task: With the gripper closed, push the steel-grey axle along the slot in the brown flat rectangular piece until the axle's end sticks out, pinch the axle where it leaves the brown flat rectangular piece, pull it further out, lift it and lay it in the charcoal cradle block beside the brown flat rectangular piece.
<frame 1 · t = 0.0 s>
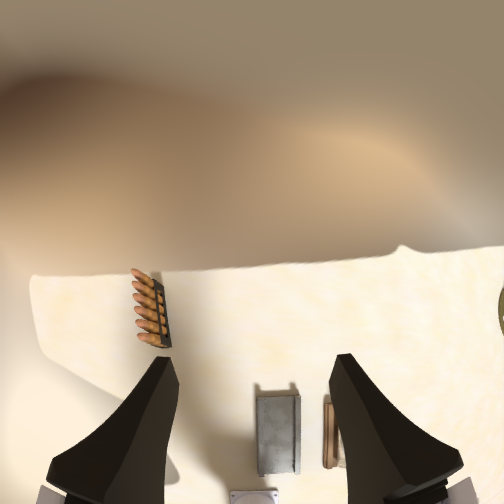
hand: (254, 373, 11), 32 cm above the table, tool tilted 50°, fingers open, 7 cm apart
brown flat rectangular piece: (344, 433, 36), on the table
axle: (346, 434, 35), point 1 cm above the table, touching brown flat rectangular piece
cradle: (278, 435, 36), on the table
ammunition clip: (162, 316, 44), on the table
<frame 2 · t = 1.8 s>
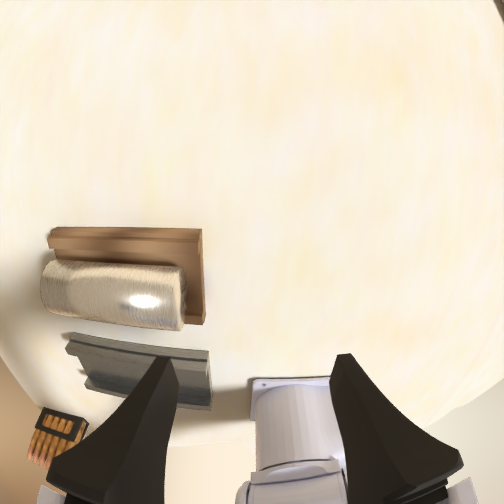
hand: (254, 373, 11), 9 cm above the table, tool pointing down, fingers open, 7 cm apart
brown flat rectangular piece: (126, 271, 19), on the table
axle: (121, 277, 18), point 1 cm above the table, touching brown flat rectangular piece
cradle: (141, 367, 24), on the table
ammunition clip: (65, 414, 32), on the table
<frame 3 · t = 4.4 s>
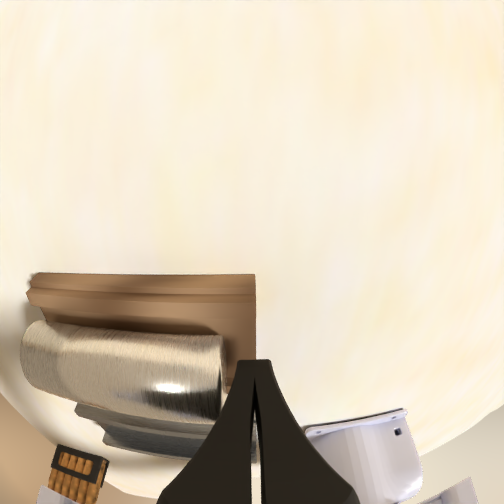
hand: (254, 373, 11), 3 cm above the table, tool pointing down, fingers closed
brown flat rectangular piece: (142, 330, 13), on the table
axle: (129, 342, 13), point 1 cm above the table, touching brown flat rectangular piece, gripper
cradle: (169, 424, 18), on the table
ammunition clip: (82, 451, 27), on the table
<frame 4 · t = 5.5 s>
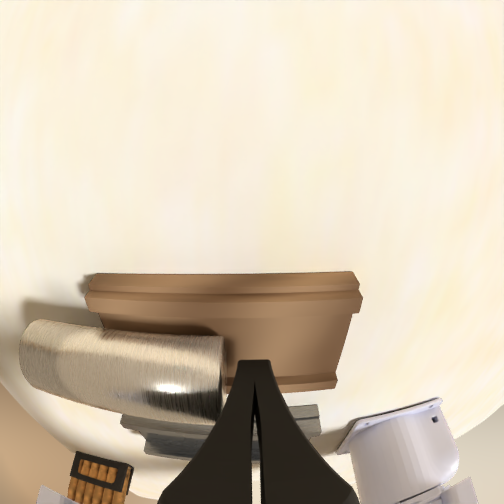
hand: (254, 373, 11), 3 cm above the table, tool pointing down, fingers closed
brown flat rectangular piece: (222, 333, 13), on the table
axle: (129, 342, 12), point 1 cm above the table, touching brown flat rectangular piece, gripper
cradle: (222, 427, 18), on the table
ammunition clip: (103, 458, 27), on the table
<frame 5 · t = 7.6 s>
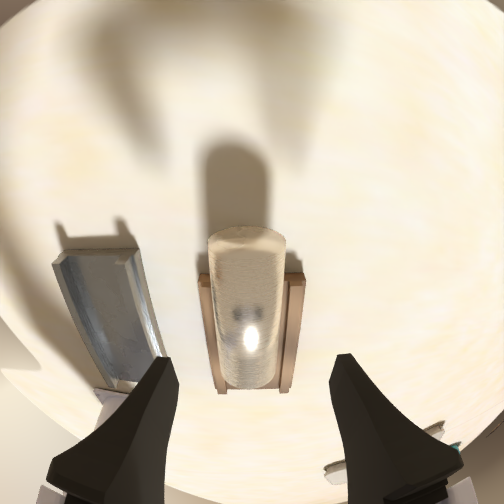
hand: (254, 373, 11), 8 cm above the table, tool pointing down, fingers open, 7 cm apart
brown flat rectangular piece: (252, 337, 21), on the table
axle: (251, 296, 18), point 1 cm above the table, tilted 8°, touching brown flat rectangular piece
cradle: (121, 323, 21), on the table
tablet: (384, 454, 41), on the table
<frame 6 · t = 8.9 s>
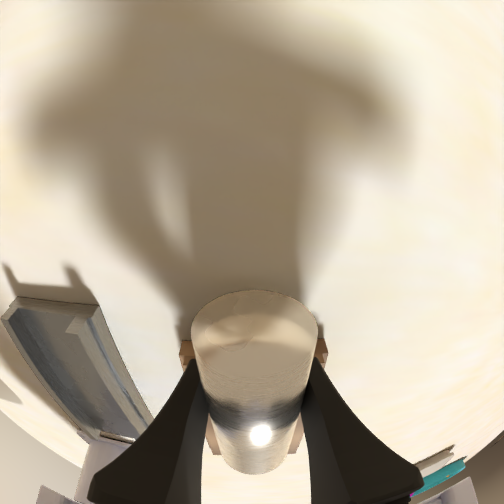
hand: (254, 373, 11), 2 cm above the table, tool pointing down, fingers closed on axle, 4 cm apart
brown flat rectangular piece: (253, 404, 16), on the table
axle: (252, 372, 13), point 1 cm above the table, touching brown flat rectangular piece, gripper
cradle: (94, 381, 15), on the table
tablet: (390, 477, 35), on the table
teal round ring: (422, 479, 50), on the table
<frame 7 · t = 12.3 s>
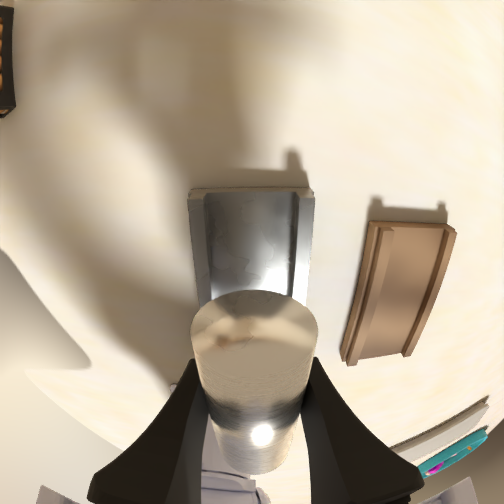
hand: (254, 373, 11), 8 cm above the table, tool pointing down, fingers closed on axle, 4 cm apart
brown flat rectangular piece: (394, 295, 19), on the table
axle: (253, 372, 12), point 7 cm above the table, touching gripper
cradle: (252, 290, 19), on the table
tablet: (432, 435, 39), on the table
ammunition clip: (6, 58, 10), on the table
teal round ring: (447, 452, 53), on the table
when the fingers open (3 cm above the table, at t = 13.5 s): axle drops 1 cm, resting on cradle.
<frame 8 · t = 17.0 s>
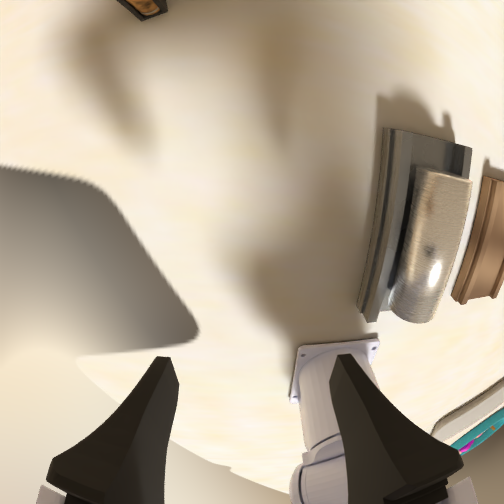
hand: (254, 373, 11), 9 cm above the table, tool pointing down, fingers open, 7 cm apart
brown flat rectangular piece: (490, 240, 19), on the table
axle: (416, 234, 17), point 1 cm above the table, touching cradle
cradle: (410, 227, 18), on the table
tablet: (474, 406, 38), on the table
teal round ring: (474, 432, 53), on the table
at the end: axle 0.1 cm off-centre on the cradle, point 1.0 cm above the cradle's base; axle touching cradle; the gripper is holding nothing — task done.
